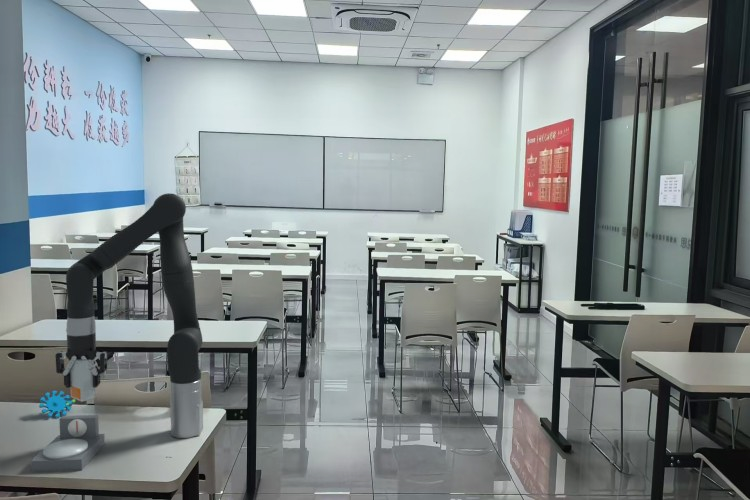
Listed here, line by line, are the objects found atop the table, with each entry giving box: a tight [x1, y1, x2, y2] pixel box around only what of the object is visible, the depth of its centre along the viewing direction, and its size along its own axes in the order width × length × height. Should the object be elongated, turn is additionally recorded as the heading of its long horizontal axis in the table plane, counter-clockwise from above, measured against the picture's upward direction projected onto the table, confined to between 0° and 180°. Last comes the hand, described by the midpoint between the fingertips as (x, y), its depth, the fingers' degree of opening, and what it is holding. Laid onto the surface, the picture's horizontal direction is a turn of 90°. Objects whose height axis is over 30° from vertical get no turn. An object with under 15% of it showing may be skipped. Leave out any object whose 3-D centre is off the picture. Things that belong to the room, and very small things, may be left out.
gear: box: [38, 390, 76, 419], centre depth 195 cm, size 11×6×10 cm
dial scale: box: [30, 414, 106, 473], centre depth 162 cm, size 13×17×9 cm
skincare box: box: [70, 359, 96, 403], centre depth 168 cm, size 6×4×12 cm
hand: (82, 386), depth 168 cm, fingers closed on skincare box, 7 cm apart
